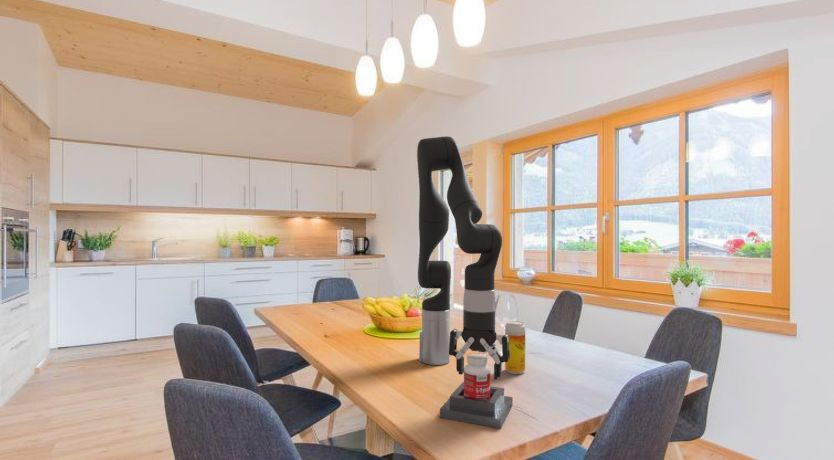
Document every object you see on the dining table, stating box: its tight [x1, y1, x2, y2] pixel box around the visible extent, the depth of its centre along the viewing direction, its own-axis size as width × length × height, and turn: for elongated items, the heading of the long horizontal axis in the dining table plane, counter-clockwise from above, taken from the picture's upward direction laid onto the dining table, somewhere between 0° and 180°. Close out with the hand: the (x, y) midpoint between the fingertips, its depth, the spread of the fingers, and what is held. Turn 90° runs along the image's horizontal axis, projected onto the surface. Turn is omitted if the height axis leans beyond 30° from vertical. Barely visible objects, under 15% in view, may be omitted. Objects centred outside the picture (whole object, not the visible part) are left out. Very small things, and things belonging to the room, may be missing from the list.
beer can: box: [504, 320, 526, 375], centre depth 132 cm, size 6×6×15 cm
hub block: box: [439, 381, 514, 430], centre depth 102 cm, size 14×14×4 cm
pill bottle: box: [463, 353, 491, 400], centre depth 102 cm, size 6×6×11 cm
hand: (478, 376), depth 102 cm, fingers open, 8 cm apart
